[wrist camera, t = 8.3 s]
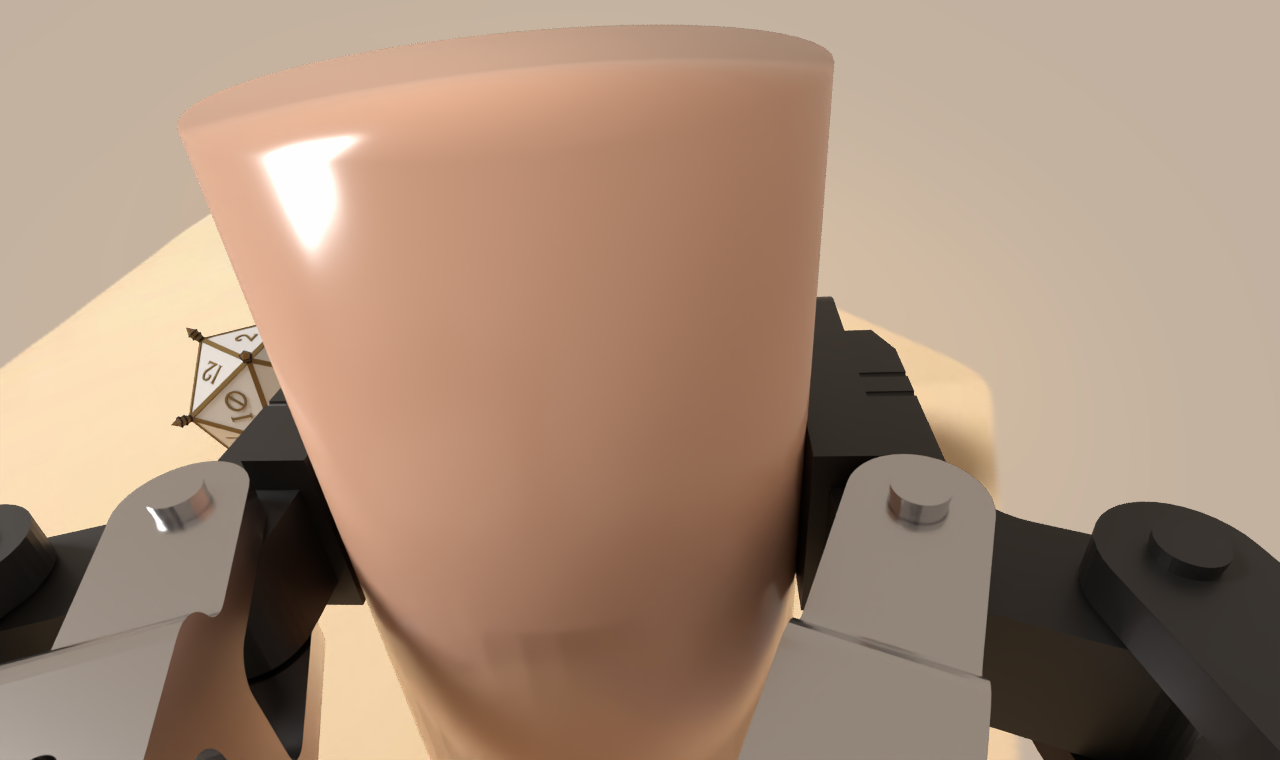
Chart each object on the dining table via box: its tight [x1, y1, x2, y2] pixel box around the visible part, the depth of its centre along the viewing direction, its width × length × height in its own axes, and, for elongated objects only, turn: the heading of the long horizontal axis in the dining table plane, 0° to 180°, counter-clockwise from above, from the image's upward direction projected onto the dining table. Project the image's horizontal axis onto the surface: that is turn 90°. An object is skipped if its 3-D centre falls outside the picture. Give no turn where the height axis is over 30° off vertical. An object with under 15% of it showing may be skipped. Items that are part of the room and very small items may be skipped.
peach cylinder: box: [177, 25, 834, 760], centre depth 9 cm, size 5×5×11 cm
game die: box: [172, 325, 281, 449], centre depth 39 cm, size 9×8×10 cm
